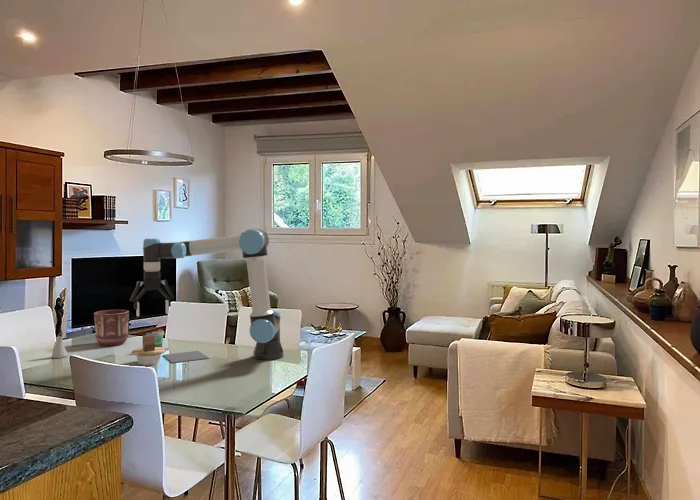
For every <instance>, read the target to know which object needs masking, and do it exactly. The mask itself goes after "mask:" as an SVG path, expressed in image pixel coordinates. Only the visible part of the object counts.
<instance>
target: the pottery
mask: <svg viewBox="0 0 700 500" xmlns="http://www.w3.org/2000/svg"><path fill="white" fill-rule="evenodd" d="M93 318H94V319H93V320H94V330H95V331H94V332H95V333H94V334H95V335H94V336H95V340H96V342H97V343H98V344H99V345H100V346H102V347H117V346H122V345H123V344H125V343H126V341H127V340H128V337H129V320H130V319H129V318H130V311H129V310H128V309H127V310H126V309H106V310H99V311H95V312H94V313H93Z"/></svg>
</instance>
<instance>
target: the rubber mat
mask: <svg viewBox="0 0 700 500" xmlns="http://www.w3.org/2000/svg"><path fill="white" fill-rule="evenodd" d="M163 356H164V358H165V359H166V360H167V361H168V362H170V363H171V364H176V363H177V364H179V363H185V362H195V361H201V360H208V359H210V356H207V355H206V354H204V353H202V352H201V351H200V350H191V351H183V352H175V353H167V354H162V357H163Z"/></svg>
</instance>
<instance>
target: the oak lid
mask: <svg viewBox="0 0 700 500" xmlns="http://www.w3.org/2000/svg"><path fill="white" fill-rule="evenodd" d="M164 353H166V348H165V347H163V346H162V347H155V336H154V335H146V334H144V335H142V347H141V348H140V347H139V348H135V349H132V351H131V355H133V356H135V357H137V356H153V355H159V354H161V355H163V354H164Z"/></svg>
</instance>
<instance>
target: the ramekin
mask: <svg viewBox="0 0 700 500" xmlns="http://www.w3.org/2000/svg"><path fill="white" fill-rule="evenodd" d="M161 355H162V354H159V355H153V356H136V357H137V358H136V360H137V363H138V364H139V365H140V364H143V365H142V366H152V365H157V364H159V362H160V359H161Z"/></svg>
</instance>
